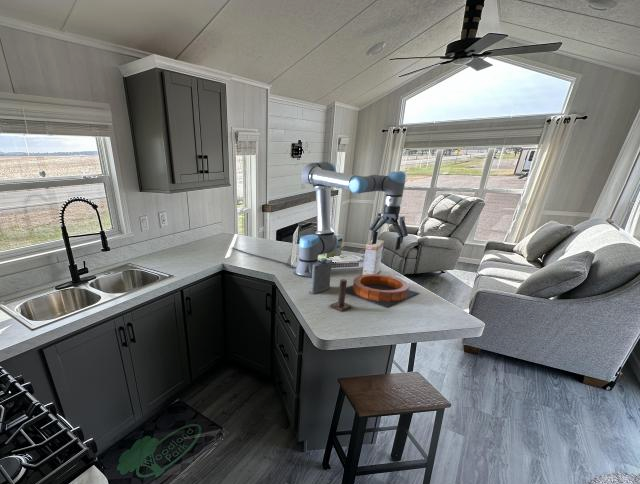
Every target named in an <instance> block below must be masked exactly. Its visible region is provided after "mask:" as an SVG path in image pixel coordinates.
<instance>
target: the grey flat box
mask: <svg viewBox="0 0 640 484" xmlns="http://www.w3.org/2000/svg"><path fill="white" fill-rule="evenodd" d="M332 263H333V262H332V260H327V259H326V258H321V262H318V263H317V264H313V270H312V277H311V286H310V289H311V290H310V294H312V295H313V294H314V295H315V294H319V293H322V292H324V291H326V290H327V291H328V289H330V287H331V275H332V266H333V265H332Z"/></svg>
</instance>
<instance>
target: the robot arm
mask: <svg viewBox="0 0 640 484" xmlns="http://www.w3.org/2000/svg"><path fill="white" fill-rule="evenodd" d="M301 180H302V181H303V182H304V183H305V184H307V185H312V188H313V189H314V190H315V203H316V204H315V205H316V224H317V225H316V229H317V230H316V231H315V232H314V234H312V233H311V234H306V235H302V236H301V237H300V239H299V243H298V246H299V247H298V262H297V264H296V266H292V265H290V264H289V263H286V262H283V261H280V260H277V259H272V258H268V257H265V256H262V255H257V254H253V253H249V252H246V251H243V250H241V249H238V248H235V247H231V249H234V250H235V251H237V252H241V253H243V254H246V255H250V256H253V257H257V258H261V259H265V260H269V261H273V262H275V263H276V262H277V263H280V264H282V265H283V264H284V265H286V266H288V267H290V268H292V269H295V271H294V272H295V275H297V276H299V277H305V278H310V277H311V278H312V270H313V264H317V263H319V262H318V255H321V254H325V253H330V252H332V251H334V250H335V249H336V248H337V246H338V238H339V237H337V235H336V234H335V231H334V230H333V229H332V204H331V203H332V195H331V191H332V190H331V189H332V188H336V189H341V190H346V191H350V192H351V193H353V194H357V195H358V194H364V193H365V194H366V193H371V192H372V193H373V192H385V193H386V194H385V199H384V206H383V212H378V213H377V215H376V218H375V219H374V220H373V222H372V224H371V225H370V227H369V231H371V232H372V233H371V238H372V239H371V241H372V244H376V241H377V240H378V236H379V235H378V234H379V231H378V230H380V228H382V227H383V226H384V225H385V224H386V225H391V226H393V228H394V229H395V231H396V233H397V235H398V236H397V237H396V241H395V248H394V250H395V251H398V250H400V248H401V244H403V242H404V241H403V240H404V237H405V238H406V237H408V236H409V233H408V230H407V229H408V228H407V226H406V222H405V220H406V218H405V216H400V213H401V207H402V206H401V205H402V202H403V195H404V190H405V185H406V180H407V173H406V172H405V171H390V172H389V174H388V175H380V174H370V175H365V176H362V175H356V174H351V173H344V172H338V170H337V168H336V166H335V165H334V164H333V163H332V162H328V161H322V162H310V163H307V164H306V165H305V166H304V167H303V168H302V169H301Z"/></svg>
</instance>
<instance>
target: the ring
mask: <svg viewBox="0 0 640 484" xmlns="http://www.w3.org/2000/svg"><path fill="white" fill-rule="evenodd" d="M368 284H380V285H386V286H390V287H393V288H395V289H396V290H378V289H373V288H369V287H366V286H364V285H368ZM352 286H353V291H354V293H356V294H357V295H359V296H361V297H364V298H366V299H370V300H376V301H386V302H390V301H391V302H392V301H400V300H402V299H405V298H406V297H407V295H408V290H410V285H409V283H408V282H407V281H406V280H404V279H402V278H400V277H396V276H392V275H387V274H380V273H379V274H378V273H377V274H367V275H362V274H361V275H359V276H356V277H354V279H353V281H352ZM405 300H406V299H405Z"/></svg>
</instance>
